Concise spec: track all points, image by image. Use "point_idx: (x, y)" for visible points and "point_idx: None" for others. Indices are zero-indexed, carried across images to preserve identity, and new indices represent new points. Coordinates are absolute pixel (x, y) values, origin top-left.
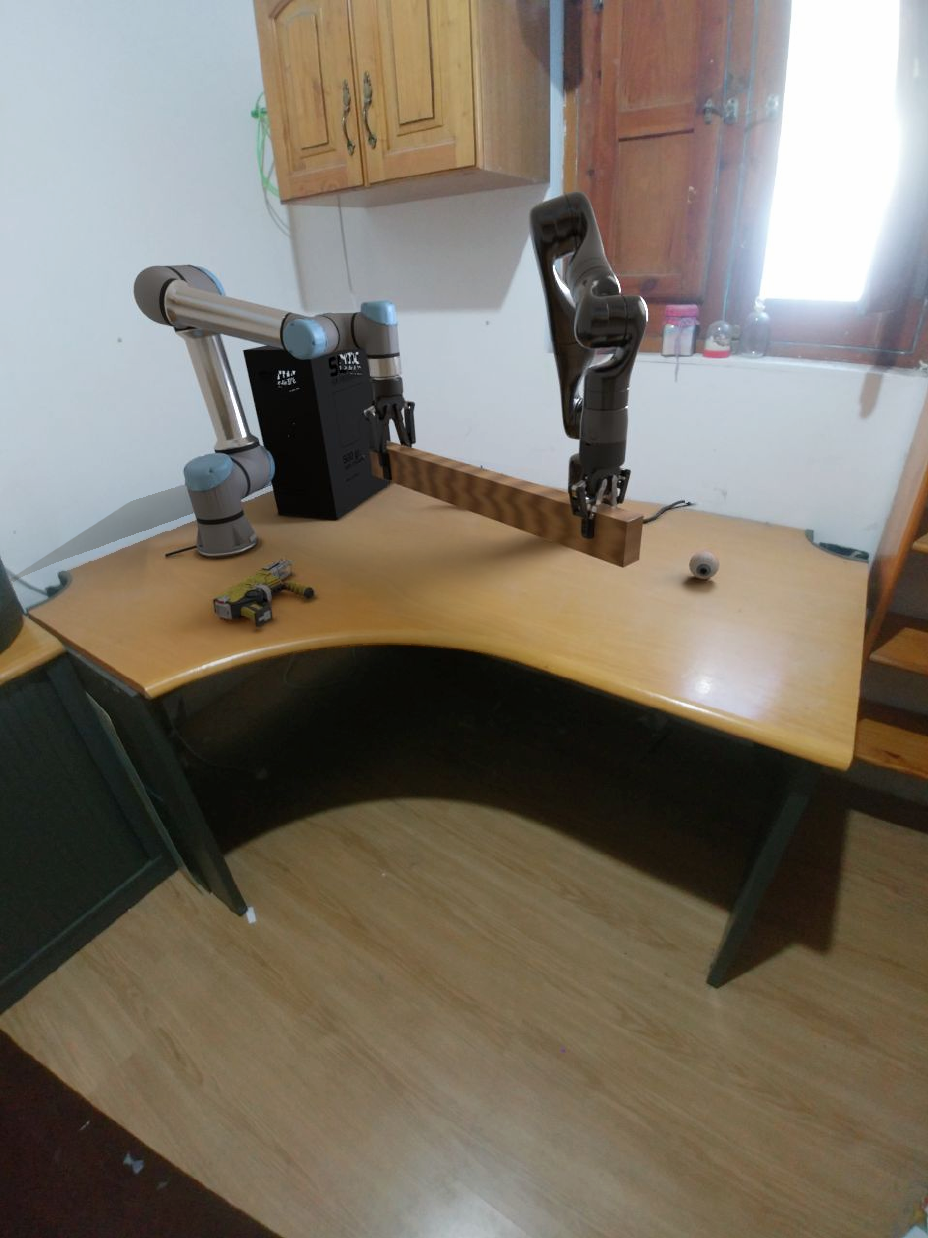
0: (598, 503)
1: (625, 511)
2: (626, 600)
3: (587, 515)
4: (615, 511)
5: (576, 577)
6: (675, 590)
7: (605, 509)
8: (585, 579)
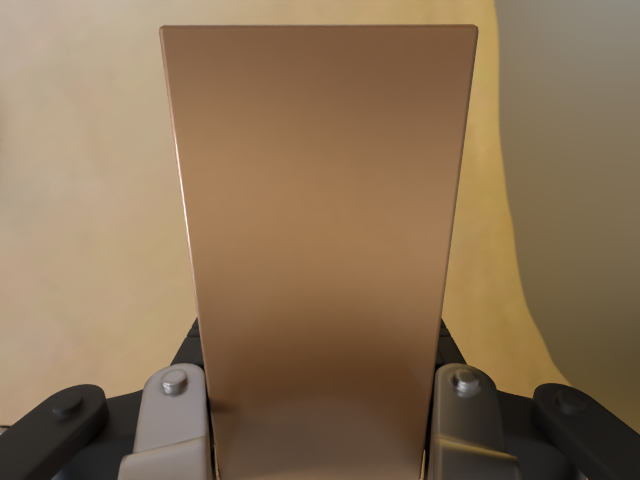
0: (470, 455)
1: (233, 237)
2: (163, 204)
3: (538, 399)
4: (298, 303)
5: (175, 348)
6: (19, 148)
7: (320, 384)
8: (165, 330)
